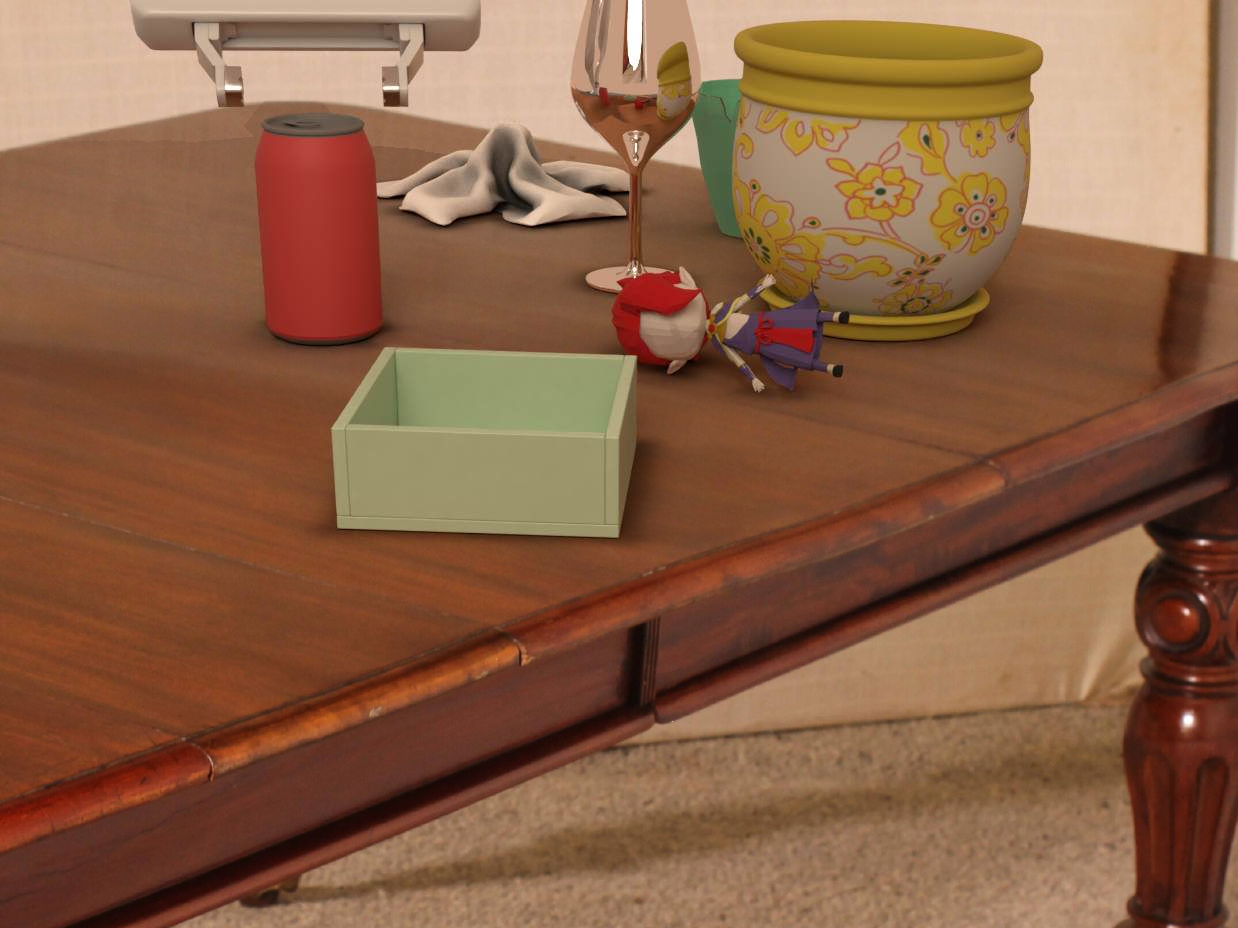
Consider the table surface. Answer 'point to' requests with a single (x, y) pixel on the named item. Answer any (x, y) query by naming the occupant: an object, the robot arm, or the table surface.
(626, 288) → the figurine
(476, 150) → the cloth
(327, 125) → the beer can
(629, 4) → the wineglass
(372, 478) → the tub
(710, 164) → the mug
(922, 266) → the flowerpot
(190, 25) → the robot arm
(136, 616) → the table surface
